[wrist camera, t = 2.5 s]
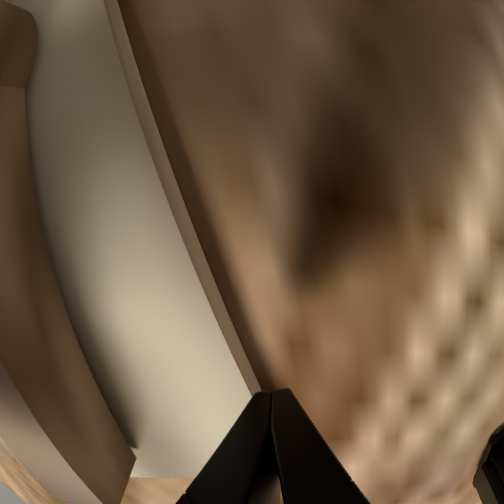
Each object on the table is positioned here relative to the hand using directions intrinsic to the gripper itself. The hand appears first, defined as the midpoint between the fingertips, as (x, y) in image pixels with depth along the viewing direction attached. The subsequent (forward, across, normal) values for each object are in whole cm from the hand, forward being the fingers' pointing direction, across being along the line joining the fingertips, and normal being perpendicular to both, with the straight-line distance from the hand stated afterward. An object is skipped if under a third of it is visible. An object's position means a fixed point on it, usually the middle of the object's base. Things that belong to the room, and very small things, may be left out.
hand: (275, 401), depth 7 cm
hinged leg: (+1, +7, -4) cm, 8 cm away
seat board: (+2, +13, -4) cm, 14 cm away
